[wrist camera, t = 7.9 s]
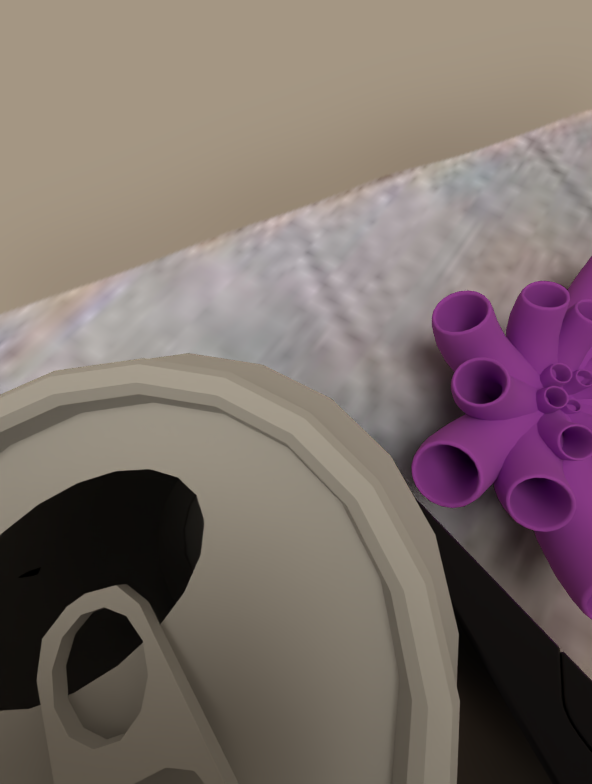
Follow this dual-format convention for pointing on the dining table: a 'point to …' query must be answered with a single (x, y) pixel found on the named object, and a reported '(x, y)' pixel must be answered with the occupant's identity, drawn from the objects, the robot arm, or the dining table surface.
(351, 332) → the dining table surface
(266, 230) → the dining table surface
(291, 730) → the can
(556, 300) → the purple tube coral sculpture
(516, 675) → the robot arm
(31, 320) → the dining table surface
